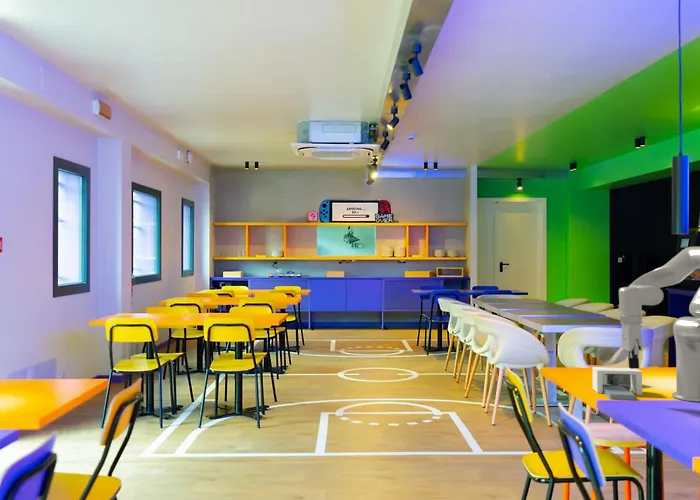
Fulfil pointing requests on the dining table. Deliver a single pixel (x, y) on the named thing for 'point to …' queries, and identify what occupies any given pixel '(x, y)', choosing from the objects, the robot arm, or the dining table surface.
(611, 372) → the shelf
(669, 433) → the dining table surface
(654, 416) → the dining table surface
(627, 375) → the beverage carton
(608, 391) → the panel
